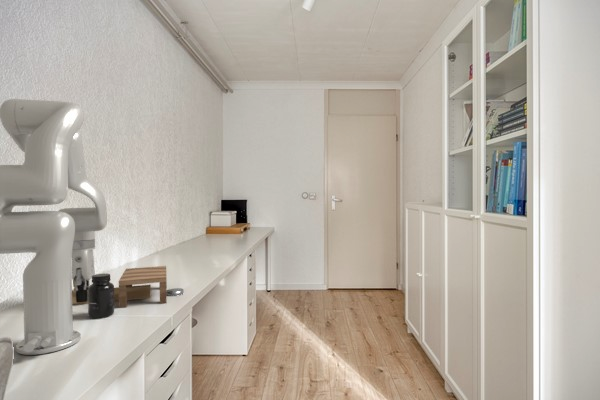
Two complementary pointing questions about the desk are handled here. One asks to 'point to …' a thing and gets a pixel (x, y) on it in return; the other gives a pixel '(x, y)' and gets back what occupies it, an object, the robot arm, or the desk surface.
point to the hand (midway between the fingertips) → (83, 300)
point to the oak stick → (132, 293)
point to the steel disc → (174, 292)
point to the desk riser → (142, 281)
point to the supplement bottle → (100, 297)
